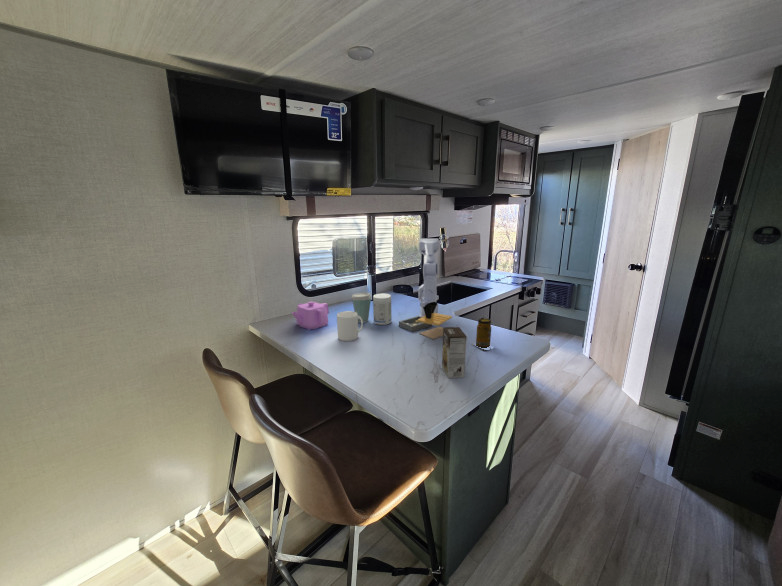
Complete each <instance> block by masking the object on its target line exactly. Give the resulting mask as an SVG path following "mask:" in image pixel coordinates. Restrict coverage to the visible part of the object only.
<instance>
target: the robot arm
mask: <svg viewBox="0 0 782 586" xmlns="http://www.w3.org/2000/svg"><path fill="white" fill-rule="evenodd" d="M418 239H419V238H418ZM418 242H419V244H418V249H419V254H422V256H423V265H422V274H423V275H422V276H423V283H422V284H421V285H420V286H419V287H418V301H419V307H420V314H419V315H418V316H421V317H424V316H425V315H426V318H428V319H431V315H432V313H438V314H439V303H438V302H437V301H438V300H439V295H437V294H438V292H437V283H438V282H437V281H438V280H437V278H438V277H437V276H438V275H439V265H438V262H437V256H436V255H435V254H437V253H438V252H439V246H440V245H439V244H440V241H439V238H420V239H419V241H418Z"/></svg>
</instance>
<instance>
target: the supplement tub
mask: <svg viewBox="0 0 782 586" xmlns="http://www.w3.org/2000/svg"><path fill="white" fill-rule="evenodd" d="M372 301H373V302H372V308H373V309H372V310H373V322H374V324H376V325H378V326H380V325H381V326H387V325H389V324H391V323H392V318H393V317H392V296H391V294H389V293H376V294H374V295H373V296H372Z"/></svg>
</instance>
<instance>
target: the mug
mask: <svg viewBox="0 0 782 586" xmlns="http://www.w3.org/2000/svg"><path fill="white" fill-rule="evenodd" d="M358 319H360V320H361V324H360V328H359V322H358ZM336 325H337V337H338V338H337V339H338V340H340V341H342V342H353V341H356V340H357V339H358V337H359V332H362V329H363V327H364V322H363V321H362V318H361V317H360V316H357V313H356V312H354V310H344V311H340V312H337V314H336Z"/></svg>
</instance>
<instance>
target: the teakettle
mask: <svg viewBox="0 0 782 586" xmlns="http://www.w3.org/2000/svg"><path fill="white" fill-rule="evenodd" d="M291 314H292V316H293V317H294V318H295V319H296V320H295V321H296V323H297V325H298V326H299V325H300V326H299V327H300V328H303V327H304V328H303V329H305V328H307V329H306V330H308V329H313V330H315V328H316V329H320V328H323V327H326V326H328V324H329V316H328V314H330V310H329V305H328V303H326V302H324V303H320V302H315V301H312V300H311V301H308V302H306V303H298V305H297V306H296V311H293V312H291ZM325 325H326V326H325ZM322 326H323V327H322ZM319 327H320V328H319Z"/></svg>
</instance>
